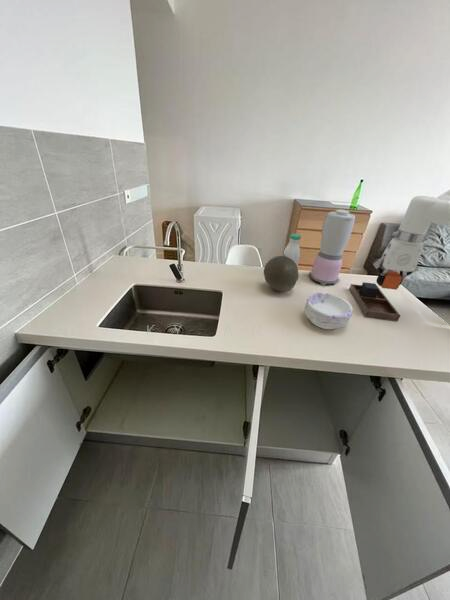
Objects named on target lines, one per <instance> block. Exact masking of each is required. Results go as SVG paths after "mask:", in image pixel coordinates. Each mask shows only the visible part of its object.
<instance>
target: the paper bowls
mask: <svg viewBox="0 0 450 600" xmlns="http://www.w3.org/2000/svg"><path fill="white" fill-rule="evenodd" d="M303 312H304V315H305V316H306V318H307V319H308V320H309V321H310V322H311V323H312V324H313V325H314V326H316V327H317V328H320V329H324V330H335V329H338V328H344V327H345V326H347V325H348V324H349V322H350V320H351V318H352V315H353V313H354V308H353V306H352V304H351V303H350V302H349V301H347V300H346V299H344V298H343V297H341V296H339V295H336V294H333V293H328V292H314V293H312V294H311V293H310V295H308V297H307V298H306V301H305V305H304V309H303Z"/></svg>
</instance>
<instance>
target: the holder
mask: <svg viewBox="0 0 450 600" xmlns="http://www.w3.org/2000/svg"><path fill="white" fill-rule="evenodd" d="M361 286H362V284H355V283H351V284H350V285H349V288H348V290H349V292H350V293H351V295H352V297H353V299H354V301H355V302H356V304H357V306H358V307H359V309H360V311H361V313H362V314H363V317H364V318H368V319H369V318H370V319H377V320H386V321H392V322H393V321H394V322H398V321H399V320H400V317H401V314H400V313H399V312H398V311H397V309H396V308H395V306H393V304H392V303H391V302H390V300H389V299H388V298H387V296H386V295H385V294H384V293H383V291H382V290H381V289H380V288H379V291H378V294H377V296H376V298H371V297H363V296H361V294H360V293H359V291H360V289H361Z"/></svg>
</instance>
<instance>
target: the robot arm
mask: <svg viewBox="0 0 450 600" xmlns="http://www.w3.org/2000/svg"><path fill="white" fill-rule="evenodd" d="M407 206H408V207H407V209H406V211H405V213H404V216H403V218H402V220H401V223H400V225H399V227H398V228H397V230H396V231H392V234H391V235H392V236H393V237H392V239H391V240H390V241H389V243H388V244H387V246H386V248H385V249H384V251H383V253H382V255H381V257H380V258H378V259H377V260H376V261H374V262H373V263H372V265H373V266H374V268H375V269H376V270H377V272H378V276H377V278H376V280H375V281H376V285H377V286H378V287H381V286H382V284H383V281H384V279H385V274H386V273H387V272H388V271H396V272H398V273H399V274H400V275H401V276H402V277H403V278H402V280H401V282H400V284H399V286H398V288H400V286H401V285H402V282H403V281H404V279H406V278H407V277H408V276H410V275H412V274H413V273H416V272H418V271H419V270H420V269H419V267H418V266H419V265H418V264H419V261H420V258H421V256H422V253H423V250H424V242H423V240H424V238H425V236H426V234H427V232H428V230H429V229H430V227H431V225H432V224H437V225H441V226H444V227H449V228H450V189H448V190H447V191H445V192H443V193H442V194H439V196H437V197H434V196H430V195H415V196H413V198H411V200H410V202H409V203H408V205H407ZM380 265H382V266H380Z"/></svg>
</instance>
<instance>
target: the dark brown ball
mask: <svg viewBox="0 0 450 600" xmlns="http://www.w3.org/2000/svg"><path fill="white" fill-rule="evenodd" d="M263 276H264V280H265V282H266V283H267V285H268V286H270V288H271V289H273V290H275V291H279V292H287V291H290V290H292V289H293V288H294V287H295V286H296V284H297V282H298V279H299V269H298V267H297V265H296V263H295V262H294V261H293V260H292V259H290V258H288V257H285V256H283V255H277V256H274V257H272V258H270V259H269V260H268V261H267V262H266V263H265V265H264V268H263Z"/></svg>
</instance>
